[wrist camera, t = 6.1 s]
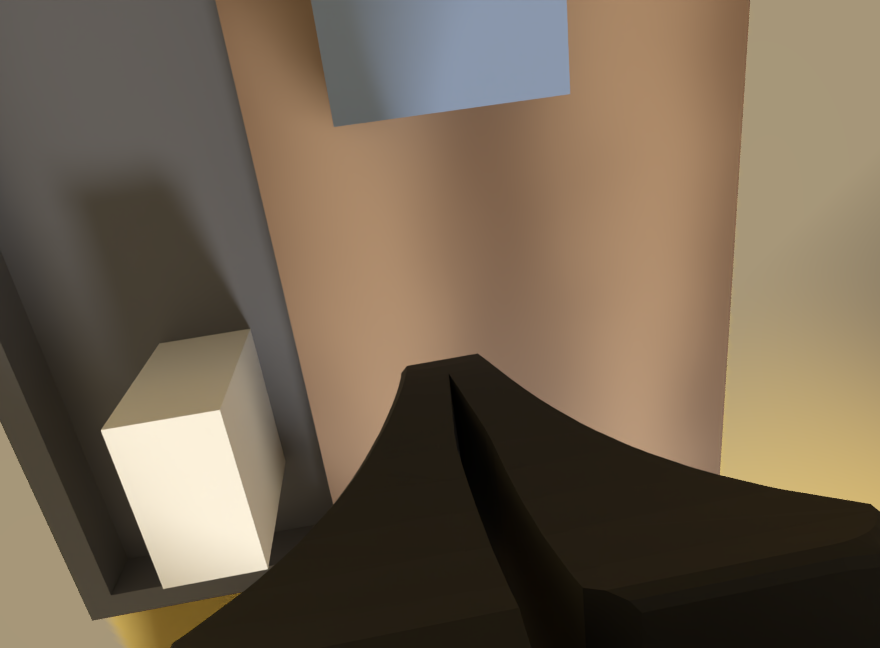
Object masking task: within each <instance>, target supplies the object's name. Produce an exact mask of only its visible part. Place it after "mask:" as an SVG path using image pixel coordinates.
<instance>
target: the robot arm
mask: <svg viewBox="0 0 880 648" xmlns="http://www.w3.org/2000/svg"><path fill="white" fill-rule="evenodd" d="M170 648H880V511H878V510H877V509H876V508H875V507H873V506H872V505H871V504H866V503H861V502H855V501H849V500H843V499H837V498H830V497H824V496H818V495H813V494H807V493H801V492H795V491H788V490H782V489H777V488H772V487H767V486H763V485H759V484H755V483H751V482H746V481H742V480H738V479H734V478H730V477H726V476H721V475H718V474H714V473H711V472H707V471H704V470H700V469H696V468H693V467H690V466H686V465H683V464H680V463H677V462H675V461H672V460H669V459H666V458H663V457H660V456H657V455H654V454H651V453H648V452H645V451H643V450H640V449H638V448H635V447H632V446H630V445H627V444H625V443H623V442H621V441H618V440H616V439H614V438H612V437H609V436H607V435H605V434H603V433H601V432H598V431H596V430H594V429H592V428H590V427H588V426H586V425H584V424H582V423H580V422H578V421H576V420H575V419H573V418H571V417H569V416H568V415H566V414H564V413H562V412H561V411H559V410H557V409H555V408H554V407H552V406H550V405H549V404H547V403H545V402H544V401H542V400H541V399H539V398H538V397H536V396H535V395H533V394H532V393H530V392H529V391H527V390H526V389H524V388H523V387H522V386H520V385H519V384H517V383H516V382H515V381H513V380H512V379H511V378H509V377H508V376H507V375H505V374H504V373H503V372H502V371H500V370H499V369H498V368H496V367H495V366H494V365H493V364H491V363H490V362H489V361H487V360H486V359H485V358H483V357H482V356H481V355H479V354H478V353H477V354H472V355H466V356H460V357H455V358H449V359H443V360H437V361H432V362H426V363H420V364H415V365H409V366H406V368H405V369H404V370H403V371H402V373H401V379H400V383H399V387H398V390H397V393H396V396H395V398H394V401H393V404H392V406H391V409H390V411H389V413H388V415H387V418H386V420H385V422H384V424H383V427H382V429H381V431H380V433H379V435H378V436H377V438H376V440H375V442H374V444H373V445H372V447H371V449H370V451H369V453H368V454H367V456H366V458H365V460H364V461H363V463H362V465H361V466H360V468H359V469H358V471H357V472H356V474H355V475H354V477H353V478H352V480H351V481H350V483H349V484H348V485H347V487H346V488H345V490H344V491H343V492H342V494H341V495H340V496H339V498H338V499H337V500H336V502H335V503H334V504H333V505H332V506H331V508H330V509H329V510H328V511H327V512H326V514H325V515H324V516H323V517H322V518H321V519H320V520H319V521H318V523H317V524H316V525H315V526H314V527H313V528H312V529H311V530H310V531H309V533H308V534H307V535H306V536H305V537H304V538H303V539H302V540H301V541H300V542H299V543H298V544H297V545H296V546H295V547H294V548H293V549H292V550H290V551H289V552H288V553H287V554H286V555H285V556H284V557H283V558H282V559H281V560H280V561H279V562H278V563H276V564H275V565H274V566H273V567H272V568H271V569H270V570H268V571H267V572H266V573H265V574H264V575H263V576H262V577H260V578H259V579H258V580H257V581H256V582H255V583H253V584H252V585H251V586H250V587H248V588H247V589H246V590H245V591H244V592H242V593H241V594H240V595H238V596H237V597H236V598H234V599H233V600H232V601H230V602H229V603H228V604H226V605H225V606H224V607H222V608H221V609H220V610H218V611H217V612H216V613H214V614H213V615H211V616H210V617H209V618H207V619H206V620H205V621H203V622H202V623H201V624H199V625H198V626H197V627H195V628H194V629H193V630H191V631H190V632H189V633H187V634H186V635H184V636H183V637H181V638H180V639H178V640H177V641H175V642H174V643H173V644H172V646H171V647H170Z"/></svg>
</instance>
